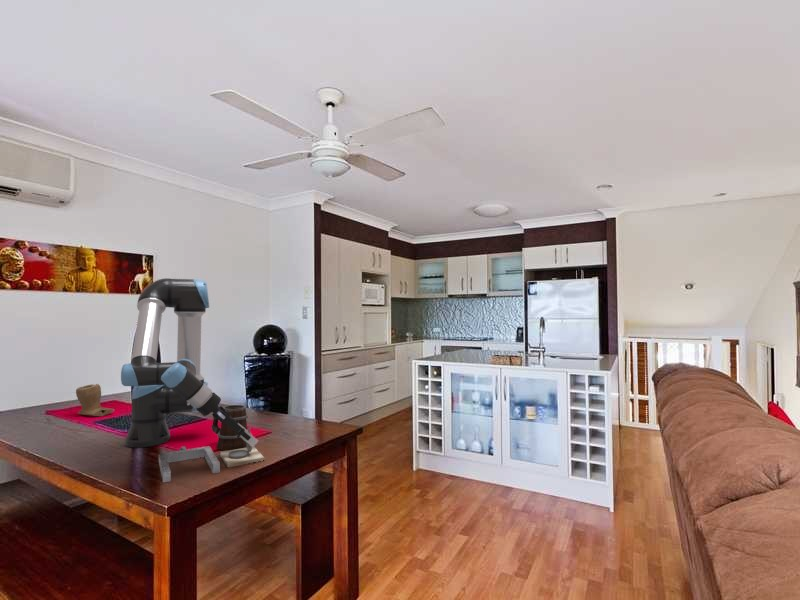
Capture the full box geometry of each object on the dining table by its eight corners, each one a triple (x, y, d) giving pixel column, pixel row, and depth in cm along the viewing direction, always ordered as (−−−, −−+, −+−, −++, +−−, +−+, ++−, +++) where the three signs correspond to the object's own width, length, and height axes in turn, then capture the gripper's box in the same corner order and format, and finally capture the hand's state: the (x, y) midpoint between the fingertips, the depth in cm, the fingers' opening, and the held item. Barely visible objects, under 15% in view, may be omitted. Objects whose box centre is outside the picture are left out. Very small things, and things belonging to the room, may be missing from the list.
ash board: (219, 455, 153) (219, 451, 153) (253, 449, 159) (254, 446, 159) (227, 467, 141) (227, 463, 141) (264, 460, 148) (264, 457, 148)
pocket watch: (224, 457, 148) (224, 428, 148) (243, 450, 155) (243, 422, 155) (240, 461, 144) (241, 431, 144) (259, 453, 151) (260, 425, 151)
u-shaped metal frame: (157, 457, 150) (157, 448, 150) (206, 449, 159) (206, 441, 159) (163, 482, 128) (163, 472, 128) (219, 472, 137) (219, 462, 137)
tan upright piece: (69, 416, 206) (70, 385, 206) (95, 411, 217) (96, 381, 217) (89, 419, 200) (90, 387, 200) (114, 414, 210) (115, 383, 211)
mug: (255, 442, 168) (256, 404, 168) (236, 452, 156) (236, 411, 156) (222, 439, 172) (222, 402, 172) (200, 448, 160) (201, 408, 161)
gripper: (191, 402, 151) (237, 441, 159) (200, 415, 133) (251, 458, 141) (207, 386, 154) (252, 424, 162) (218, 397, 136) (268, 439, 144)
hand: (252, 440), depth 151 cm, fingers open, 9 cm apart
